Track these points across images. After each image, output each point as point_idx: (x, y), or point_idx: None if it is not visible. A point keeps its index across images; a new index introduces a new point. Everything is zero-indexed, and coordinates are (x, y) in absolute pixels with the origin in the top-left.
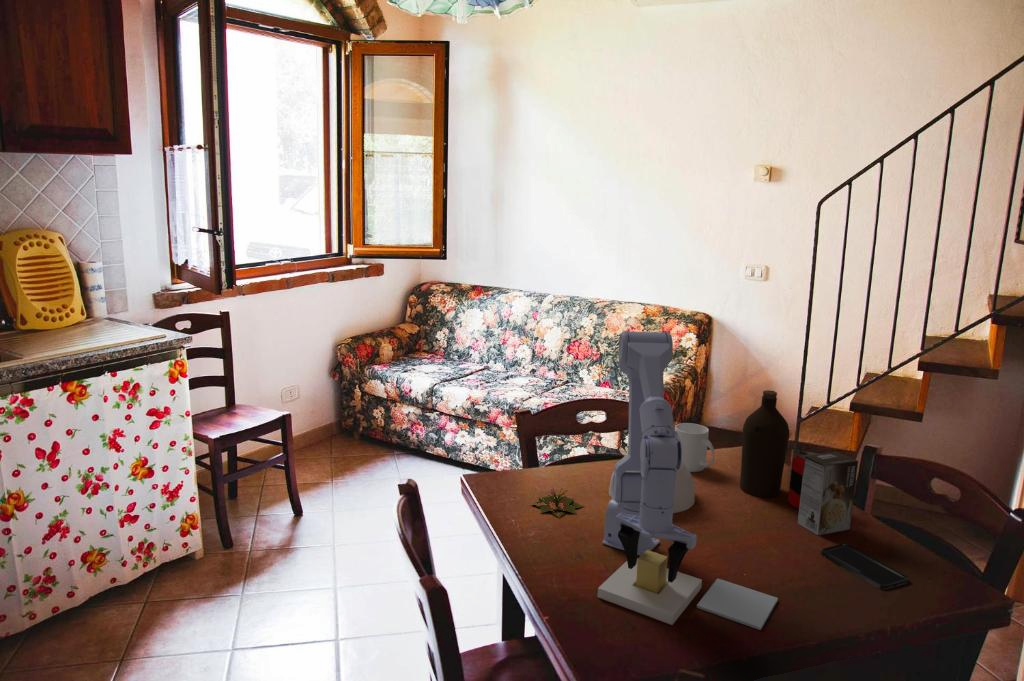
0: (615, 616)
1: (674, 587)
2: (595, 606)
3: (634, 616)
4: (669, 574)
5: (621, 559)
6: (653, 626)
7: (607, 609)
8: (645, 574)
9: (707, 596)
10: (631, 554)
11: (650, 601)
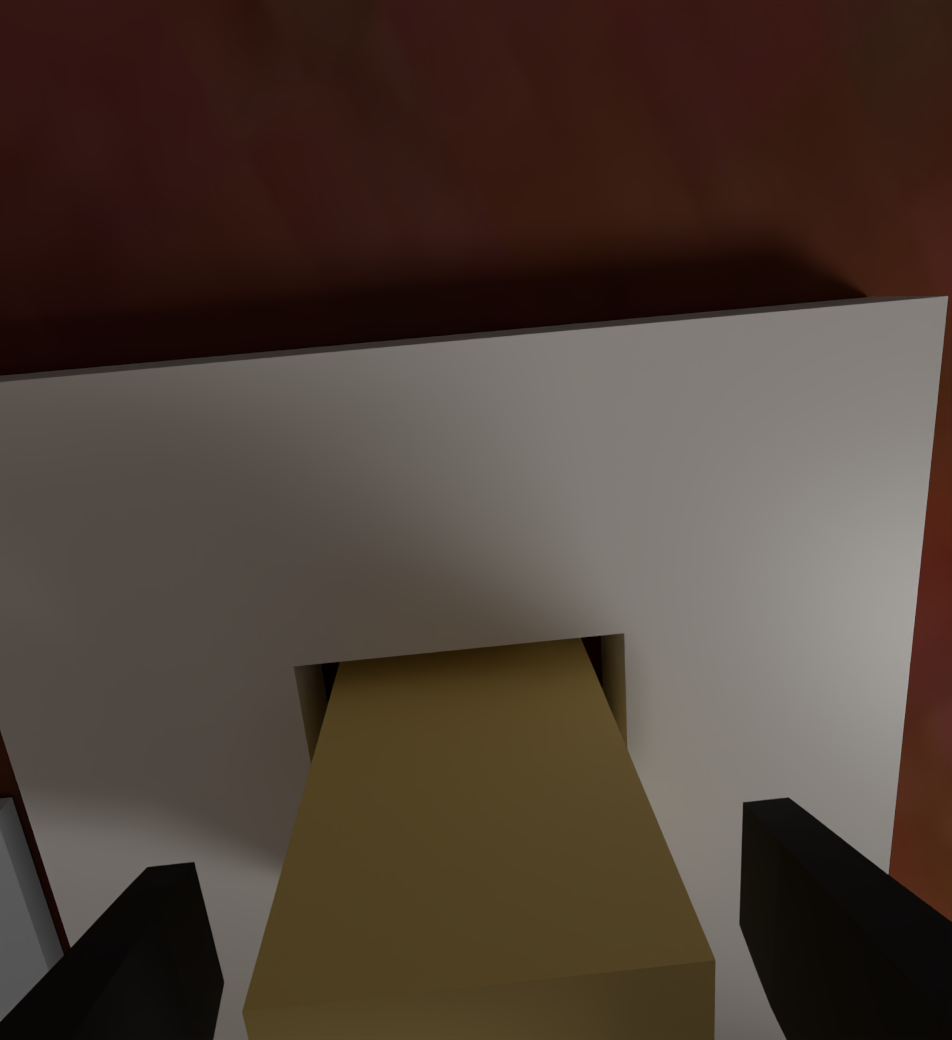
0: (531, 81)
1: (246, 886)
2: (814, 106)
3: (366, 243)
4: (108, 952)
5: None
6: (101, 211)
7: (673, 151)
8: (500, 790)
9: (22, 983)
10: (889, 1006)
11: (275, 476)
